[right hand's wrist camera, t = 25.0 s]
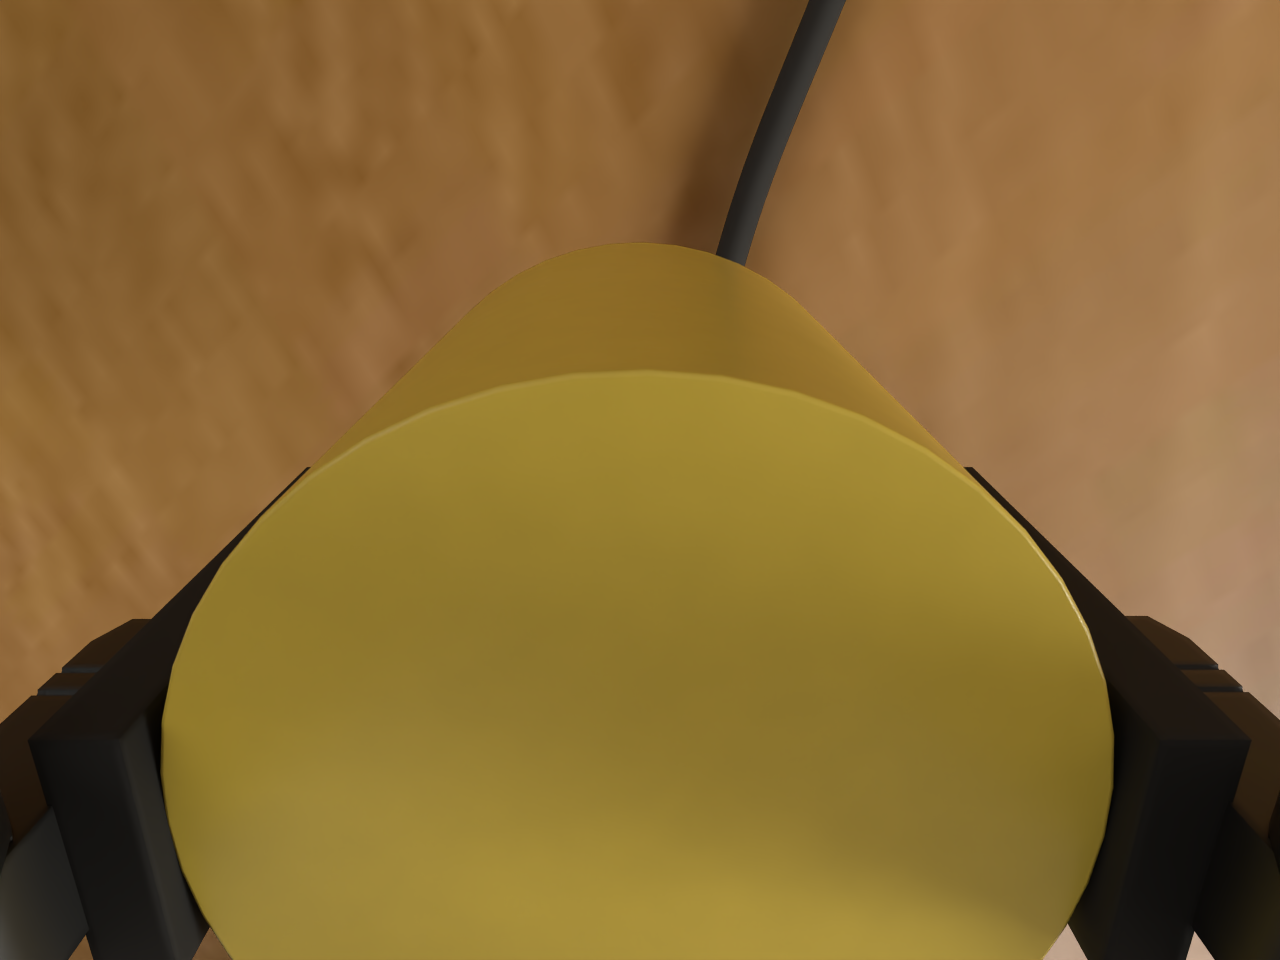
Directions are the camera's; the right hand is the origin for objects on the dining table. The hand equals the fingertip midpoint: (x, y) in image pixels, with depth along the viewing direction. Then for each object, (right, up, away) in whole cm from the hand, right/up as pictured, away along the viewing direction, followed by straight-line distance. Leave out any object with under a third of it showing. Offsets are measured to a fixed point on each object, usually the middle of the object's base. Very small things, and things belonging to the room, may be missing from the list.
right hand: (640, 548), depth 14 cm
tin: (0, +1, +3) cm, 3 cm away
